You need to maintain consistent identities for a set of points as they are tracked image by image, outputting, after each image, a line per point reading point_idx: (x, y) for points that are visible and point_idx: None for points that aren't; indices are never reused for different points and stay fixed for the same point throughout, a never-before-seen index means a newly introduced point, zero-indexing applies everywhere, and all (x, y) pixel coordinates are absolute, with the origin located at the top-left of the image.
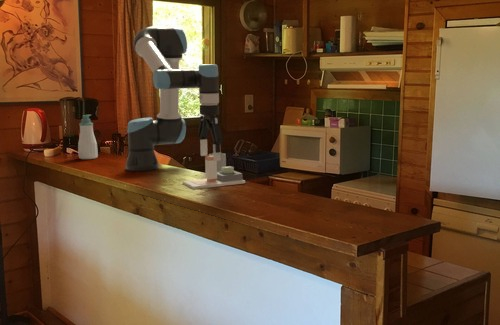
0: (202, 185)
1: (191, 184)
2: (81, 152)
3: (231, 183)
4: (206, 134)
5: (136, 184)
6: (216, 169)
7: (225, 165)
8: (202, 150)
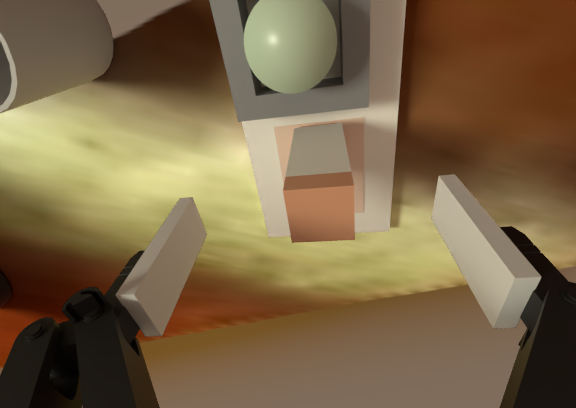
0: (389, 198)
1: None
2: None
3: (401, 45)
4: (128, 361)
5: (227, 322)
6: (345, 144)
7: None
8: (192, 253)
